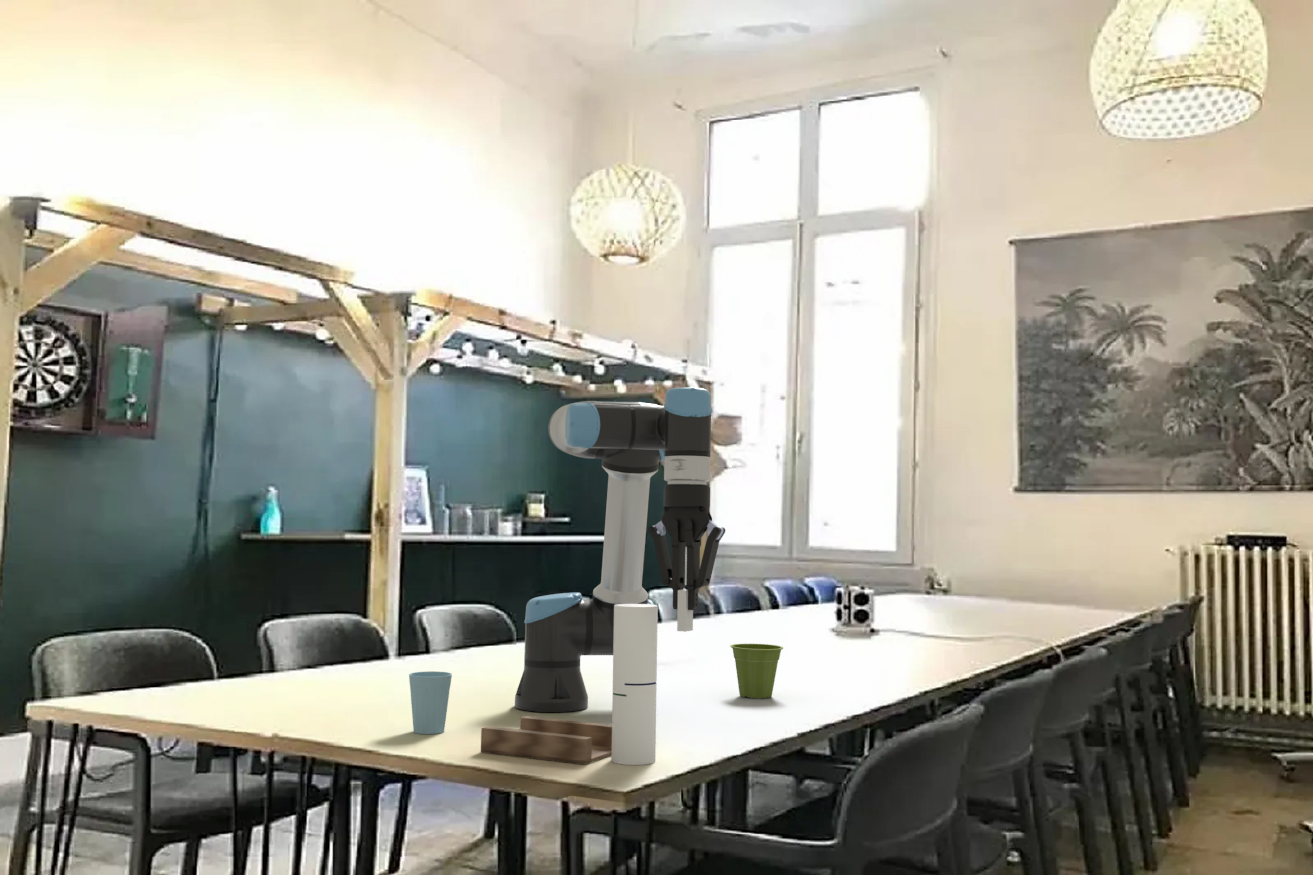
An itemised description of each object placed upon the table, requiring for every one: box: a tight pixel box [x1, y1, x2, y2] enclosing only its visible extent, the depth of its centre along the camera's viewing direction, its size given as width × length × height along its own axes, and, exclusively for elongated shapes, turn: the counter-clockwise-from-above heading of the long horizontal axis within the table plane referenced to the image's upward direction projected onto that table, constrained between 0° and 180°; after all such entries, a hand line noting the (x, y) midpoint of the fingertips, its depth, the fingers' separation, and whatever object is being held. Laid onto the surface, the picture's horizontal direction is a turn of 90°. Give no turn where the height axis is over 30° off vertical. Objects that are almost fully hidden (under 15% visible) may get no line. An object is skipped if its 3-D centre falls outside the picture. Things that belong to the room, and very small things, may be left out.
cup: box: [408, 670, 453, 735], centre depth 215 cm, size 8×8×10 cm
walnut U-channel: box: [480, 715, 612, 766], centre depth 199 cm, size 20×14×4 cm
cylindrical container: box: [610, 604, 659, 766], centre depth 193 cm, size 7×7×25 cm
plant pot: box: [729, 643, 784, 700], centre depth 265 cm, size 12×12×11 cm
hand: (685, 630), depth 189 cm, fingers closed
